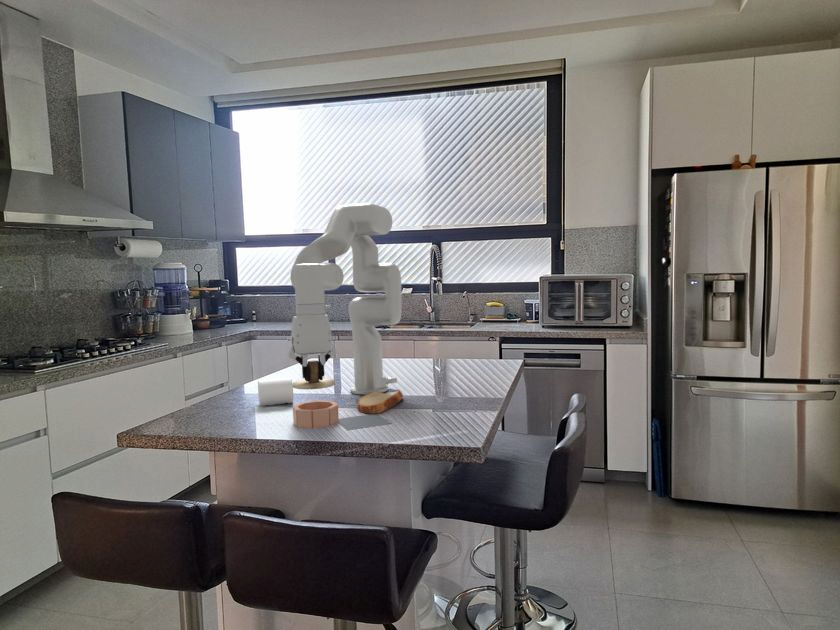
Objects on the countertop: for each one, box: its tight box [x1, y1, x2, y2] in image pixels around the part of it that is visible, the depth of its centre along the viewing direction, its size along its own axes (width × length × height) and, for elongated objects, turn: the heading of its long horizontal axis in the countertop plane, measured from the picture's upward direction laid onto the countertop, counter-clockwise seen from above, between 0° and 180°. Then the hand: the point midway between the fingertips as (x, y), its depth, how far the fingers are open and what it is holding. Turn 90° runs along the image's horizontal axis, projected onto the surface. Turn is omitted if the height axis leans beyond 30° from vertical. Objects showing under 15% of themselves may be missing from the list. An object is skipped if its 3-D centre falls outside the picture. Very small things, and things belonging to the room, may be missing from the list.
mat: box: [337, 413, 393, 431], centre depth 154 cm, size 12×12×1 cm
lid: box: [292, 360, 336, 390], centre depth 153 cm, size 11×11×6 cm
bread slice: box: [356, 389, 404, 415], centre depth 172 cm, size 18×18×4 cm
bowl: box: [292, 400, 340, 429], centre depth 154 cm, size 11×11×5 cm
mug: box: [257, 376, 294, 407], centre depth 181 cm, size 12×10×8 cm
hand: (313, 379), depth 153 cm, fingers closed on lid, 2 cm apart
